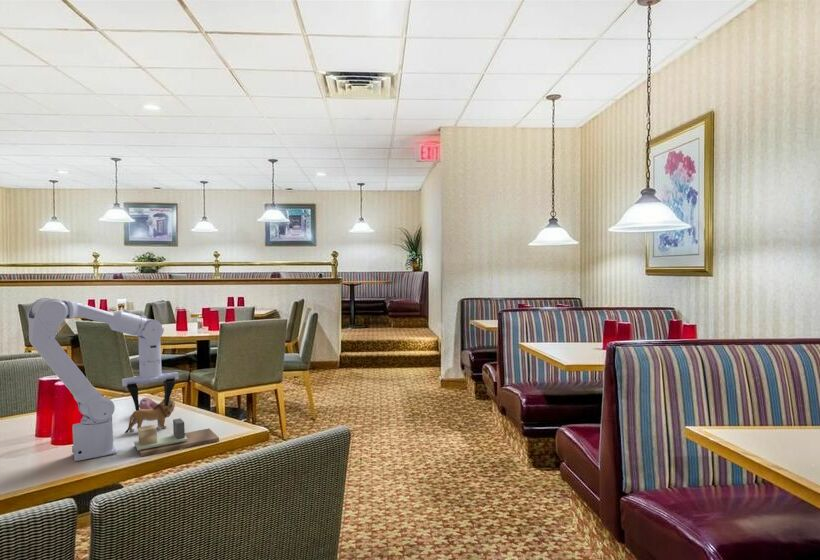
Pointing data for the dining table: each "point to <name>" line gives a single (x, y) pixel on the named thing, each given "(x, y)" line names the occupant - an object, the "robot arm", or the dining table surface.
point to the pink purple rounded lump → (147, 403)
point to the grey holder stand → (168, 436)
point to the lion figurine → (152, 414)
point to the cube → (147, 435)
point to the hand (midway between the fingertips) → (152, 407)
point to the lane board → (184, 442)
